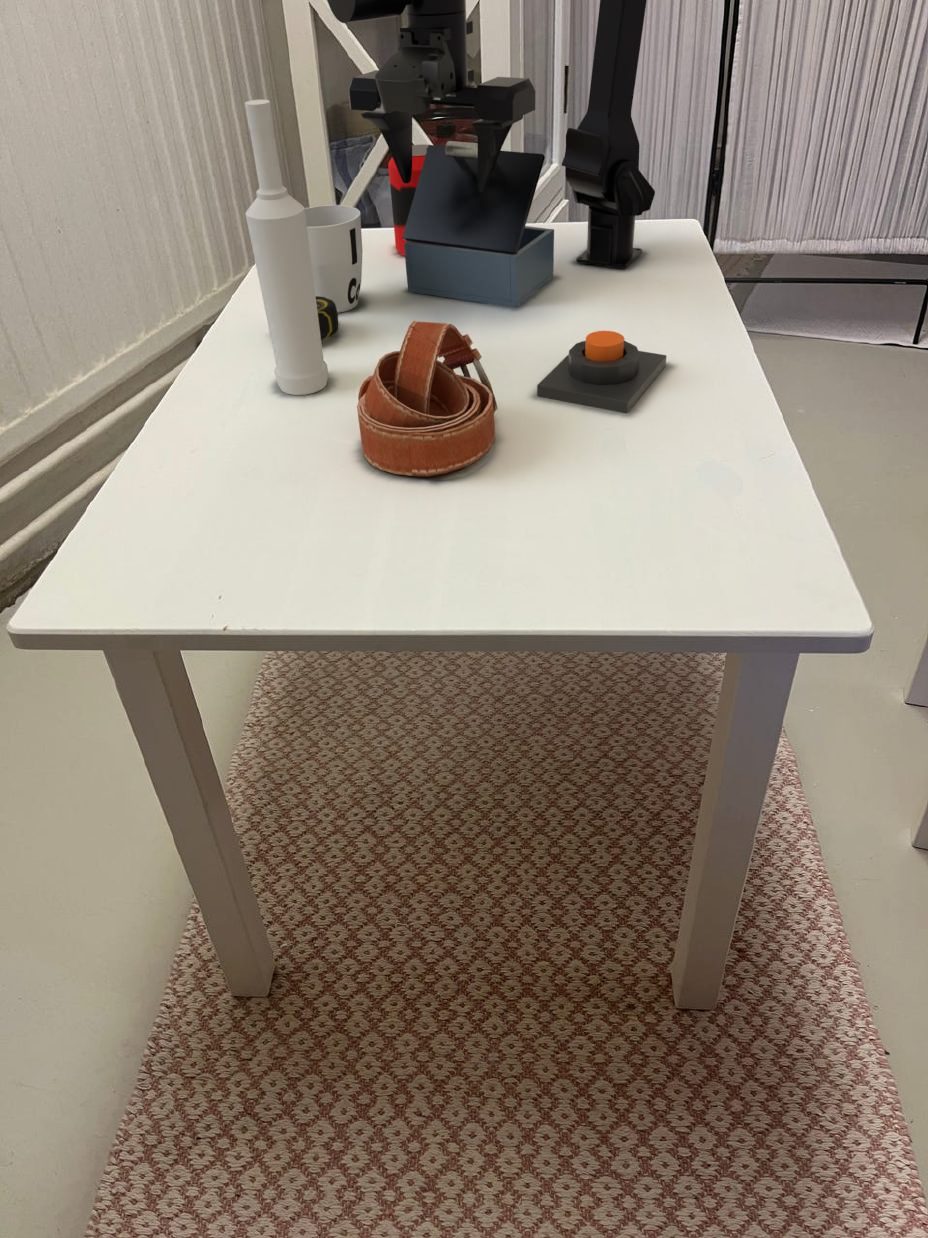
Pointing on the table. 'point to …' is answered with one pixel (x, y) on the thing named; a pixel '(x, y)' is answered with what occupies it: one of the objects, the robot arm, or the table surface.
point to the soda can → (404, 193)
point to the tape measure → (327, 317)
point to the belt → (427, 405)
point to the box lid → (472, 199)
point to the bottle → (283, 265)
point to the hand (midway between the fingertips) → (444, 186)
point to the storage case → (482, 270)
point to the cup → (336, 253)
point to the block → (602, 378)
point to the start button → (604, 346)
